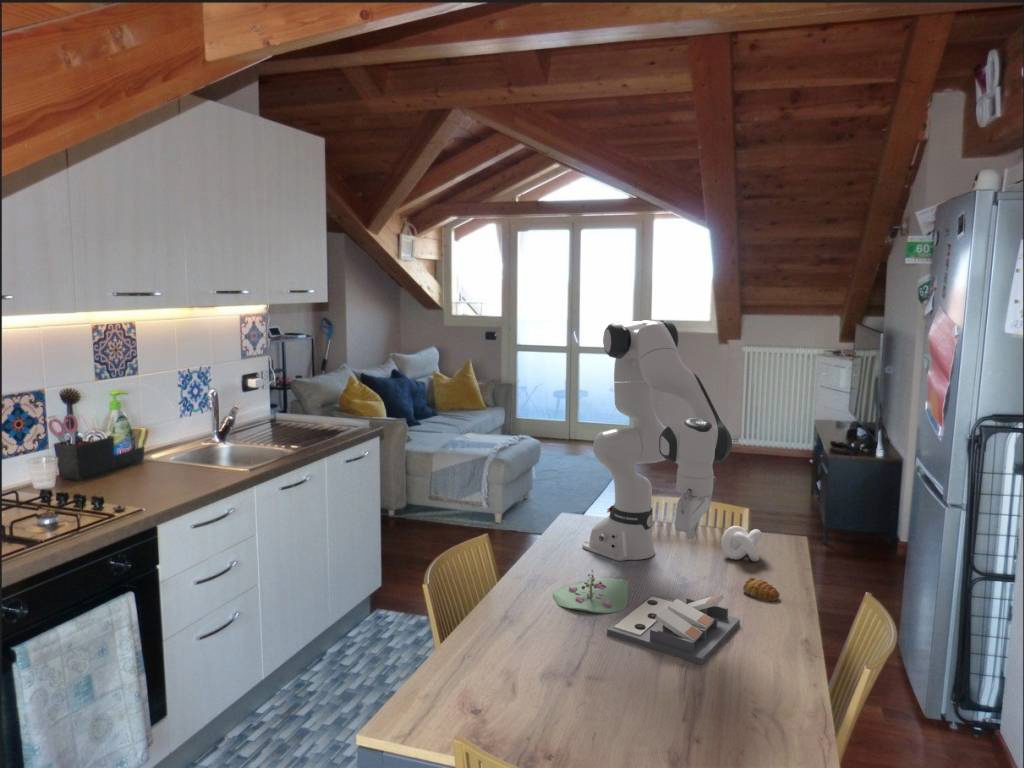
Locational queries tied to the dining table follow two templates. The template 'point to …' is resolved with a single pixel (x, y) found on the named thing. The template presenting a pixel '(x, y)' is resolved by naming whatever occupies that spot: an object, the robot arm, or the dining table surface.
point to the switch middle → (690, 614)
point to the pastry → (760, 589)
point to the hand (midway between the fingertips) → (691, 537)
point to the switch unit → (656, 636)
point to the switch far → (707, 602)
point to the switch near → (678, 625)
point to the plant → (594, 595)
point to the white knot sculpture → (740, 543)
